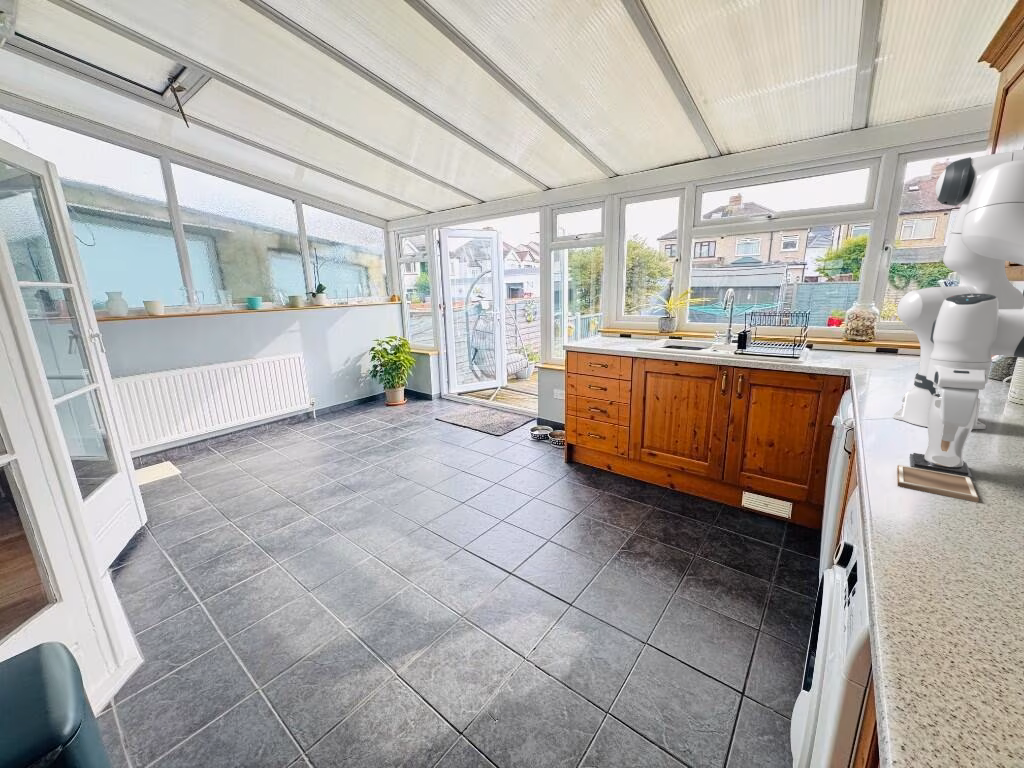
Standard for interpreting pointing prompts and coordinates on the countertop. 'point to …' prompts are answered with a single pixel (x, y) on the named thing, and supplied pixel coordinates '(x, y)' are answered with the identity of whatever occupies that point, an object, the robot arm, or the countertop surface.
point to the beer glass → (939, 449)
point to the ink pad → (919, 462)
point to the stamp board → (936, 482)
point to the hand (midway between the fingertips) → (945, 435)
